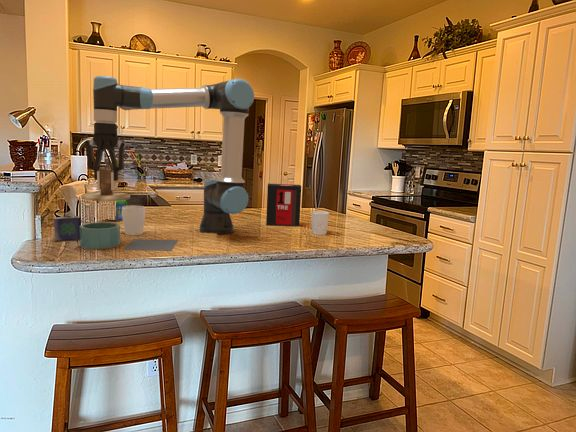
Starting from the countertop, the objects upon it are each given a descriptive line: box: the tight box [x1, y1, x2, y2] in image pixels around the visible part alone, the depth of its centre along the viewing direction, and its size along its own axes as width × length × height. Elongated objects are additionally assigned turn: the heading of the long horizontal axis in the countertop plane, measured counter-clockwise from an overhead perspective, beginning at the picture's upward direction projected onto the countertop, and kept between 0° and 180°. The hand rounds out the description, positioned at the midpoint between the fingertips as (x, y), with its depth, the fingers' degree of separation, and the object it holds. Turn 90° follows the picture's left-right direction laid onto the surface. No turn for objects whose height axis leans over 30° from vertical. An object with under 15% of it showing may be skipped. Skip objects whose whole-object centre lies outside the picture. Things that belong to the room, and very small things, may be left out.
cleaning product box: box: [265, 183, 302, 228], centre depth 214 cm, size 16×9×20 cm, turn 92°
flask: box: [53, 212, 82, 242], centre depth 163 cm, size 9×3×11 cm, turn 121°
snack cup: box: [115, 200, 129, 222], centre depth 205 cm, size 16×10×10 cm
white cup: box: [311, 210, 330, 236], centre depth 196 cm, size 8×8×10 cm
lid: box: [81, 168, 131, 202], centre depth 152 cm, size 16×16×10 cm
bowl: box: [79, 221, 121, 250], centre depth 155 cm, size 13×13×8 cm
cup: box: [122, 204, 146, 236], centre depth 175 cm, size 9×9×12 cm
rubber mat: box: [122, 238, 179, 252], centre depth 158 cm, size 17×17×1 cm
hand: (106, 189), depth 152 cm, fingers closed on lid, 4 cm apart
